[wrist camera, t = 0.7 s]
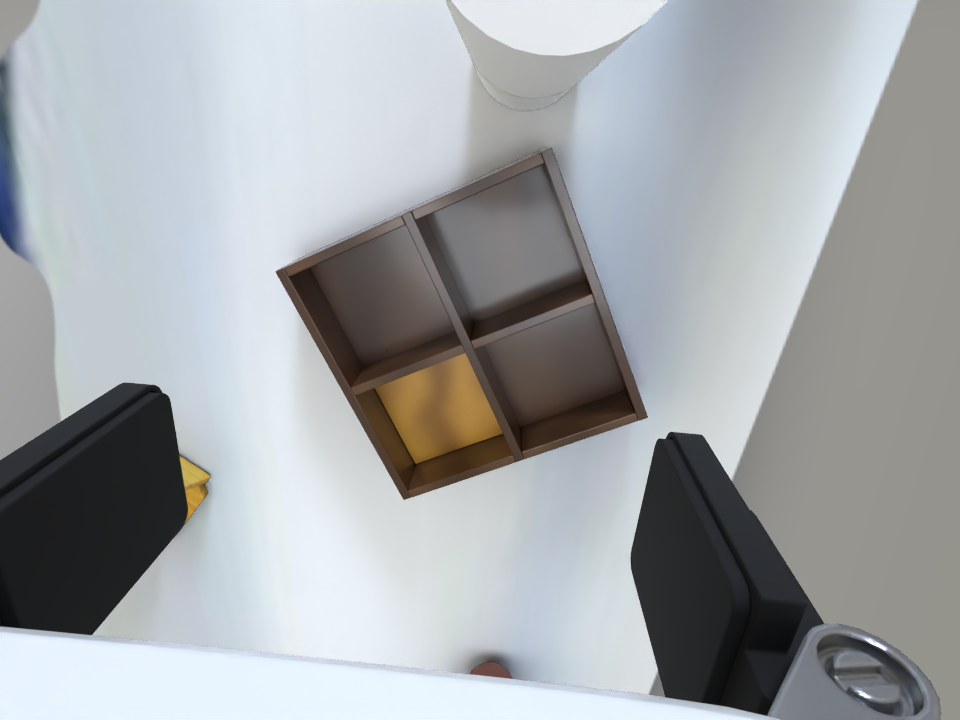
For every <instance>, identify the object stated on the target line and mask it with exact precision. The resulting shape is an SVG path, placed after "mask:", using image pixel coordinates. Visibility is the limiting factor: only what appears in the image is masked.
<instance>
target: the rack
mask: <svg viewBox="0 0 960 720" xmlns="http://www.w3.org/2000/svg"><path fill="white" fill-rule="evenodd" d="M276 274H277V275H278V277H279V279H280V281H281V282H282V284H283V286H284V288H285V290H286V291H287V293H288V295H289V297H290V298H291V300H292V302H293V304H294V306H295V307H296V309H297V311H298V313H299V314H300V316H301V318H302V320H303V322H304V323H305V325H306V327H307V329H308V330H309V332H310V334H311V336H312V338H313V339H314V341H315V343H316V345H317V346H318V348H319V350H320V352H321V354H322V355H323V357H324V359H325V361H326V362H327V364H328V366H329V368H330V370H331V371H332V373H333V375H334V377H335V378H336V380H337V382H338V384H339V386H340V387H341V389H342V391H343V393H344V394H345V396H346V398H347V400H348V402H349V403H350V405H351V407H352V409H353V410H354V412H355V414H356V416H357V418H358V419H359V421H360V423H361V425H362V426H363V428H364V430H365V432H366V434H367V435H368V437H369V439H370V441H371V442H372V444H373V446H374V448H375V450H376V451H377V453H378V455H379V457H380V458H381V460H382V462H383V464H384V466H385V467H386V469H387V471H388V473H389V474H390V476H391V478H392V480H393V482H394V483H395V485H396V487H397V489H398V490H399V492H400V494H401V496H402V498H403V499H404V500H405V499H408V498H411V497H414V496H417V495H420V494H423V493H426V492H429V491H432V490H435V489H438V488H441V487H444V486H447V485H450V484H453V483H456V482H459V481H462V480H465V479H468V478H471V477H474V476H476V475H479V474H482V473H485V472H488V471H491V470H494V469H497V468H500V467H503V466H506V465H509V464H512V463H515V462H518V461H521V460H524V458H525V459H526V458H529V457H532V456H535V455H538V454H541V453H544V452H547V451H550V450H553V449H556V448H559V447H562V446H565V445H568V444H571V443H574V442H576V441H579V440H582V439H585V438H588V437H591V436H594V435H597V434H600V433H603V432H606V431H609V430H612V429H615V428H618V427H621V426H624V425H627V424H630V423H633V422H636V421H638V420H642V419H645V418H648V416H647V413H646V411H645V408H644V405H643V402H642V399H641V397H640V394H639V391H638V388H637V385H636V383H635V380H634V377H633V374H632V371H631V369H630V366H629V363H628V360H627V357H626V355H625V352H624V349H623V346H622V343H621V341H620V338H619V335H618V332H617V329H616V327H615V324H614V321H613V318H612V315H611V312H610V310H609V307H608V304H607V301H606V298H605V296H604V293H603V290H602V287H601V284H600V282H599V279H598V276H597V273H596V270H595V268H594V265H593V262H592V259H591V256H590V254H589V251H588V248H587V245H586V242H585V240H584V237H583V234H582V231H581V228H580V226H579V223H578V220H577V217H576V214H575V212H574V209H573V206H572V203H571V200H570V198H569V195H568V192H567V189H566V186H565V184H564V181H563V178H562V175H561V172H560V170H559V167H558V164H557V161H556V158H555V156H554V153H553V150H552V148H549V147H546V148H544V149H541V150H539V151H537V152H535V153H532V154H530V155H528V156H526V157H524V158H521V159H519V160H517V161H515V162H512V163H510V164H508V165H506V166H504V167H501V168H499V169H497V170H495V171H492V172H490V173H488V174H486V175H483V176H481V177H479V178H477V179H475V180H472V181H470V182H468V183H466V184H463V185H461V186H459V187H457V188H455V189H452V190H450V191H448V192H446V193H443V194H441V195H439V196H437V197H435V198H432V199H430V200H428V201H426V202H423V203H421V204H419V205H417V206H415V207H412V208H410V209H408V210H406V211H403V212H401V213H399V214H397V215H394V216H392V217H390V218H388V219H386V220H383V221H381V222H379V223H377V224H374V225H372V226H370V227H368V228H366V229H363V230H361V231H359V232H357V233H354V234H352V235H350V236H348V237H346V238H343V239H341V240H339V241H337V242H334V243H332V244H330V245H328V246H325V247H323V248H321V249H319V250H317V251H314V252H312V253H310V254H308V255H305V256H303V257H301V258H299V259H297V260H295V261H293V262H292V263H290V264H288V265H286V266H284V267H283V268H281V269H279V270H277V271H276Z"/></svg>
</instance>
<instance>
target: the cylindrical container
mask: <svg viewBox="0 0 960 720" xmlns="http://www.w3.org/2000/svg"><path fill="white" fill-rule="evenodd" d="M445 1H446V3H447V6H448V8H449V10H450V12H451V15H452V17H453V19H454V21H455V24H456V26H457V28H458V30H459V33H460V35H461V37H462V39H463V42H464V44H465V46H466V48H467V51H468V53H469V55H470V58H471V60H472V62H473V65H474V67H475V69H476V72H477V74H478V76H479V78H480V80H481V82H482V84H483V86H484V88H485V89H486V90H487V91H488V93H489V94H490V95H491V96H492V97H493V98H494V99H496V100H497V101H498V102H499V103H501V104H503V105H505V106H507V107H509V108H511V109H515V110H519V111H533V110H539V109H542V108H544V107H547V106H549V105H551V104H552V103H554V102H556V101H557V100H559V99H560V98H561V97H562V96H563V95H564V94H565V93H567V92H568V91H569V90H570V89H571V88H572V87H573V86H574V85H576V84H577V83H578V82H579V81H580V80H581V79H582V78H583V77H585V76H586V75H587V74H588V73H589V72H590V71H592V70H593V69H594V68H595V67H596V66H597V65H598V64H599V63H601V62H602V61H603V60H604V59H605V58H606V57H607V56H608V55H610V54H611V53H612V52H613V51H614V50H615V49H616V48H617V47H619V46H620V45H621V44H622V43H623V42H624V41H625V40H626V39H628V38H629V37H630V36H631V35H632V34H633V33H634V32H635V31H637V30H638V29H639V28H640V27H641V26H642V25H643V24H644V23H646V22H647V21H648V20H649V19H650V18H651V17H652V16H653V15H654V14H655V13H656V12H657V11H658V10H659V9H660V8H661V7H662V6H663V5H664V4H665V3H666V2H667V1H668V0H445Z"/></svg>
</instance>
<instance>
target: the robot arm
mask: <svg viewBox="0 0 960 720" xmlns="http://www.w3.org/2000/svg"><path fill="white" fill-rule="evenodd" d="M187 515H188V504H187V498H186V492H185V486H184V480H183V474H182V468H181V462H180V456H179V450H178V444H177V438H176V432H175V426H174V420H173V414H172V408H171V402H170V399H169V397H168V395H166V394H164V393H162V391H161V389H160V388H159V387H158V386H156V385H147V384H135V383H122V384H120V385H118V386H116V387H115V388H113V389H112V390H110V391H108V392H107V393H105V394H104V395H102V396H101V397H99V398H97V399H96V400H94V401H93V402H91V403H90V404H88V405H86V406H85V407H83V408H82V409H80V410H79V411H77V412H75V413H74V414H72V415H71V416H69V417H68V418H66V419H64V420H63V421H61V422H60V423H58V424H57V425H55V426H53V427H52V428H51V429H49V430H47V431H46V432H44V433H42V434H41V435H39V436H38V437H36V438H35V439H33V440H31V441H30V442H28V443H27V444H25V445H24V446H22V447H20V448H19V449H17V450H16V451H14V452H13V453H11V454H10V455H8V456H6V457H5V458H3V459H2V460H0V720H940V717H941V708H940V699H939V697H938V695H937V693H936V691H935V689H934V687H933V685H932V683H931V681H930V680H929V679H928V678H927V677H926V675H925V674H924V673H923V672H922V671H921V670H920V668H919V667H918V666H917V665H916V664H915V663H914V662H913V661H911V660H910V659H909V658H908V657H907V656H905V655H904V654H903V653H902V652H901V651H900V650H898V649H897V648H895V647H893V646H892V645H890V644H888V643H887V642H885V641H884V640H882V639H880V638H879V637H877V636H874V635H872V634H870V633H867V632H865V631H863V630H860V629H858V628H854V627H850V626H846V625H842V624H824V623H823V621H822V619H821V618H820V616H819V614H818V613H817V611H816V610H815V608H814V607H813V605H812V603H811V602H810V600H809V599H808V597H807V595H806V594H805V593H804V591H803V589H802V588H801V586H800V584H799V583H798V581H797V580H796V578H795V576H794V575H793V573H792V572H791V570H790V569H789V567H788V565H787V564H786V562H785V561H784V559H783V557H782V556H781V554H780V553H779V551H778V550H777V548H776V546H775V545H774V544H773V542H772V540H771V539H770V537H769V535H768V534H767V532H766V531H765V529H764V527H763V526H762V524H761V523H760V521H759V520H758V518H757V516H756V515H755V514H754V513H753V512H752V511H751V510H749V508H748V507H747V505H746V504H745V502H744V501H743V499H742V497H741V496H740V494H739V492H738V491H737V489H736V488H735V486H734V485H733V483H732V481H731V480H730V478H729V476H728V475H727V473H726V472H725V470H724V468H723V467H722V465H721V464H720V462H719V460H718V459H717V457H716V456H715V454H714V452H713V451H712V449H711V448H710V446H709V444H708V443H707V441H706V440H705V438H704V437H703V436H702V435H698V434H687V433H676V432H670V433H669V434H668V435H667V437H666V439H658V440H657V442H656V445H655V448H654V453H653V457H652V462H651V466H650V471H649V475H648V479H647V484H646V488H645V493H644V497H643V502H642V506H641V510H640V515H639V519H638V524H637V528H636V532H635V537H634V541H633V546H632V550H631V570H632V574H633V578H634V582H635V585H636V589H637V593H638V597H639V600H640V604H641V608H642V611H643V615H644V619H645V623H646V626H647V630H648V634H649V638H650V641H651V645H652V649H653V652H654V656H655V660H656V664H657V667H658V671H659V675H660V679H661V682H662V686H663V690H664V694H665V697H659V696H652V695H645V694H638V693H631V692H622V691H612V690H603V689H594V688H586V687H578V686H570V685H563V684H554V683H545V682H536V681H527V680H518V679H509V678H499V677H490V676H481V675H472V674H463V673H454V672H444V671H435V670H426V669H417V668H408V667H399V666H389V665H380V664H371V663H361V662H351V661H342V660H332V659H323V658H313V657H303V656H294V655H284V654H274V653H265V652H255V651H245V650H235V649H225V648H216V647H206V646H196V645H186V644H176V643H166V642H156V641H145V640H135V639H125V638H115V637H104V636H94V635H92V634H93V633H94V632H95V631H96V629H97V628H98V627H99V626H100V625H101V624H102V622H103V621H104V620H105V619H106V618H107V616H108V615H109V614H110V613H111V612H112V610H113V609H114V608H115V607H116V606H117V605H118V603H119V602H120V601H121V600H122V599H123V597H124V596H125V595H126V594H127V593H128V591H129V590H130V589H131V588H132V587H133V586H134V584H135V583H136V582H137V581H138V580H139V578H140V577H141V576H142V575H143V574H144V572H145V571H146V570H147V569H148V568H149V566H150V565H151V564H152V563H153V562H154V561H155V559H156V558H157V557H158V556H159V555H160V553H161V552H162V551H163V550H164V549H165V547H166V546H167V545H168V544H169V543H170V542H171V540H172V539H173V538H174V537H175V536H176V534H177V533H178V532H179V531H180V530H181V528H182V527H183V526H184V524H185V522H186V519H187Z"/></svg>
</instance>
